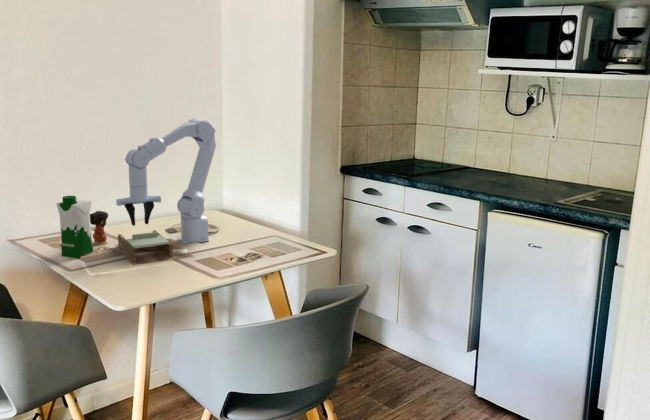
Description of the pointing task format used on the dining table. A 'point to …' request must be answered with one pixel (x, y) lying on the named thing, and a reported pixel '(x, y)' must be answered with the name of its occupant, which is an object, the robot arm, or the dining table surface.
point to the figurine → (99, 227)
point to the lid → (147, 240)
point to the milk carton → (75, 227)
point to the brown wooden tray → (152, 251)
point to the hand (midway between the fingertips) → (140, 224)
